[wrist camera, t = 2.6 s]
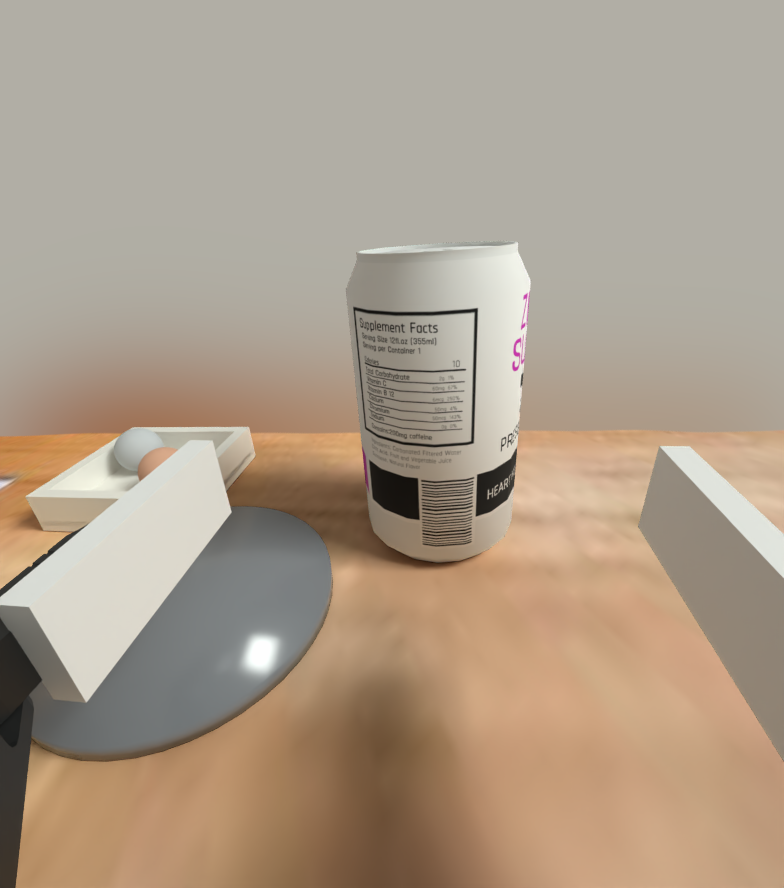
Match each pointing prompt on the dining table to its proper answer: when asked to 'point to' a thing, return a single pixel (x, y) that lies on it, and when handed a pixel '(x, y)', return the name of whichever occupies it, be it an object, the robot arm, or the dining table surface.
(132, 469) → the ball grey
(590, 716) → the dining table surface
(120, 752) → the slate coaster
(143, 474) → the ball terracotta
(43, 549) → the dining table surface
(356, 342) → the supplement can
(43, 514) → the ball dish
